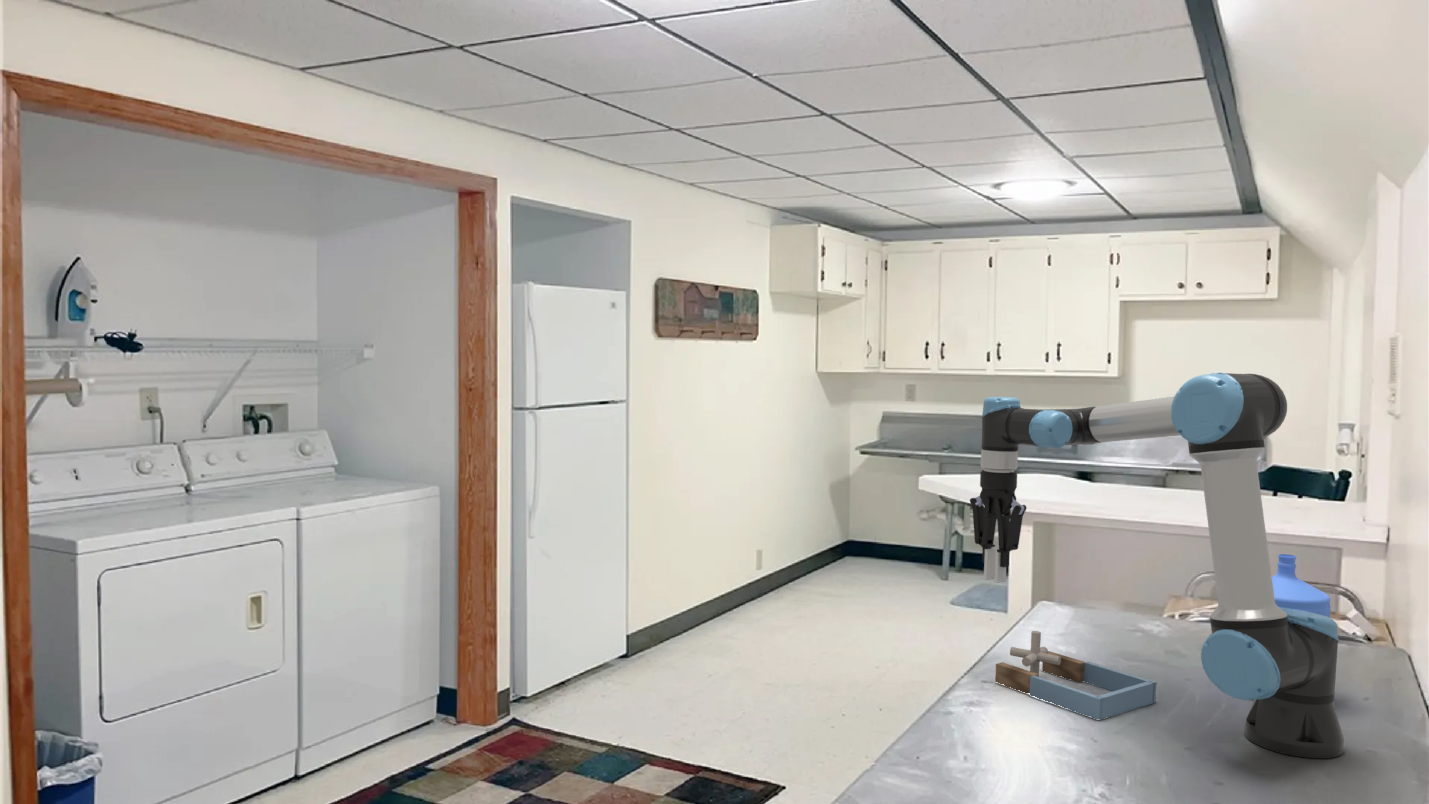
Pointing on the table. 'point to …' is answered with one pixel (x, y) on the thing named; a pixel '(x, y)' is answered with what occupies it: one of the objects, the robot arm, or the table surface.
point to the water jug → (1297, 590)
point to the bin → (1124, 697)
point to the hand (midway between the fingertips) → (994, 580)
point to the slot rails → (1021, 677)
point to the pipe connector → (1035, 654)
